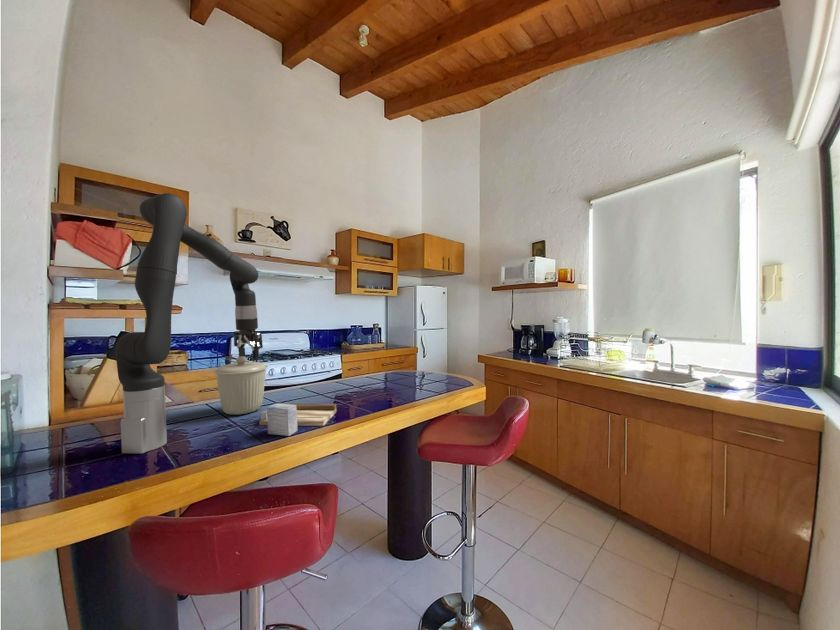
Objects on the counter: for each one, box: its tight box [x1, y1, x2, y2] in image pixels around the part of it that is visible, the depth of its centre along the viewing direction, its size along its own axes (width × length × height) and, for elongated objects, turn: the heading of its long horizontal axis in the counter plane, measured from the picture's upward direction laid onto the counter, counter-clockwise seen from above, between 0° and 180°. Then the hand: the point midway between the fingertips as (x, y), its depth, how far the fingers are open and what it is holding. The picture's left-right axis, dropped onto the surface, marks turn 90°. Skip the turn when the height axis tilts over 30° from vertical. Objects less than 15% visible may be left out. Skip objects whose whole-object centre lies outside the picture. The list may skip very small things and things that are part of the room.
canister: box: [213, 356, 269, 416], centre depth 125 cm, size 18×18×21 cm
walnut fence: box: [290, 403, 337, 410], centre depth 122 cm, size 2×22×2 cm, turn 87°
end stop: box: [260, 408, 267, 420], centre depth 116 cm, size 10×2×2 cm, turn 177°
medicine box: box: [266, 403, 298, 437], centre depth 103 cm, size 8×4×9 cm, turn 74°
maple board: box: [258, 408, 337, 427], centre depth 116 cm, size 14×22×2 cm, turn 87°
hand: (248, 358), depth 127 cm, fingers open, 8 cm apart
